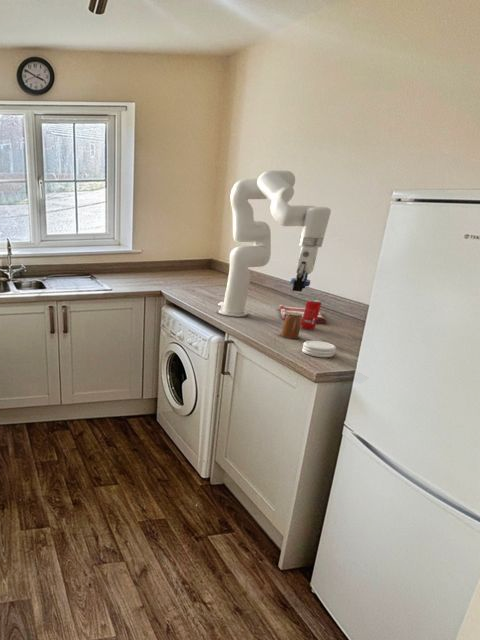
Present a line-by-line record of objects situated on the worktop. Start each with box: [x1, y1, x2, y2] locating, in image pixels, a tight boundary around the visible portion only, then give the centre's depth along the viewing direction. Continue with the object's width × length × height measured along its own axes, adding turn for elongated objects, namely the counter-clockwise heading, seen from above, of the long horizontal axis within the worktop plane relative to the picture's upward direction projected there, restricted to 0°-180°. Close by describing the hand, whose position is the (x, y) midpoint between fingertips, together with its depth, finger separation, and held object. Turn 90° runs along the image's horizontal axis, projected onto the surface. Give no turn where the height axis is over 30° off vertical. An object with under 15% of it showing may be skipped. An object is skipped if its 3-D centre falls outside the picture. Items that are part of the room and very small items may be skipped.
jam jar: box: [280, 312, 303, 340], centre depth 183 cm, size 6×6×10 cm
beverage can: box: [301, 299, 322, 331], centre depth 194 cm, size 5×5×12 cm
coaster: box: [301, 340, 337, 359], centre depth 165 cm, size 10×10×4 cm
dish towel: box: [278, 304, 327, 324], centre depth 214 cm, size 17×23×3 cm
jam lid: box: [289, 277, 311, 287], centre depth 177 cm, size 7×7×2 cm
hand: (298, 289), depth 178 cm, fingers closed on jam lid, 6 cm apart
